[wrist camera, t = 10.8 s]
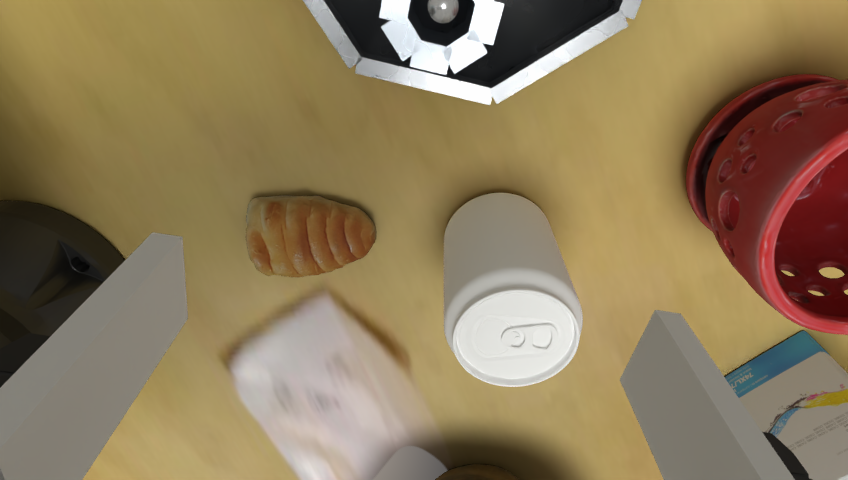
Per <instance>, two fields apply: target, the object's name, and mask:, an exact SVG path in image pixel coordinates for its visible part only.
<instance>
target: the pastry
mask: <svg viewBox="0 0 848 480" xmlns="http://www.w3.org/2000/svg"><path fill="white" fill-rule="evenodd" d="M246 222H247V228H246V241H247V248H248V252H249V257H250V260H251V261H252V262H253V263H254V264H255V267H256V269H257V270H258V271H260V272H261V273H263V274H265V275H267V276H270V275H281V276H288V277H302V276H307V275H319V274H321V273H325V272H331V271H333V270H335V269H338V268H341V267H343V266H344V265H345V264H348V263H350V262H354V261H355V260H358V259H361V258H363V257H364V256H365V255H366V254H367V253H368V252H369V250H370V249H371V247H372V245H373V243H374V242H375V240H376V228H375V225H374V224H373V222H372V221H371V219H370V218H369V217H368V216H367V215H366V214H365V213H364V212H363V211H362V210H360V209H359V208H357V207H353V206H348V205H346V204H340V203H338V202H336V201H332V200H327V199H325V198H323V197H321V196H318V195H315V196H289V195H285V196H270V197H257V198H254V199H252V200H251V201H250V203H249V205H248V210H247V215H246Z"/></svg>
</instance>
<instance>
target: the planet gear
mask: <svg viewBox="0 0 848 480" xmlns="http://www.w3.org/2000/svg"><path fill="white" fill-rule="evenodd" d="M413 3H414V0H382V3H381V9H380V16H379V18H383V19H387V20H386V21H385V23H384V24H383V25H382V26H381V28H382V30H383V31H384V33H385V34H386V36H387V38H388V39H389V41H390V42H391V44H392V45H393V47H394V49H395V50H396V52H397V53H398V55H399V57H400V58H401V60H402V61H404V60H406V59H407V58H409V57H410V56H412V57H411V62H410V67H414V68H418V69H422V70H426V71H430V72H435V73H439V74H443V75H446V74H447V70H448V66H449V65H450V67H451V69H452V70H453V72H454V74H455V73H457V72H458V71H460V70H462V69H463V68H465V67H466V66H468V65H469V64H471V63H473V62H474V61H476V60H477V59H479V58H480V57H482V56H484V55H485V54H487V50H486V48H485V46H484V43H485V44H489V45H493V44H494V40H495V36H496V33H497V29H498V25H499V22H500V18H501V15H502V11H503V7H504V3H503V2H502V1H500V0H470V2H469V6H468V10H467V14H466V18H465V21H463V22H462V23H460V24H459V25H457V26H456V27H454V28H453V29H451V30H450V31H448V32H447V33H444V32H440V31H436V30H432V29H428V28H424V26H423V24H422V23H421V21H420V19H419V17H418V16H417V14H416V12H415V11H414V9H413Z"/></svg>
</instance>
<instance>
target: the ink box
mask: <svg viewBox="0 0 848 480" xmlns="http://www.w3.org/2000/svg"><path fill="white" fill-rule="evenodd" d="M725 379H726V380H727V382H728V383H729V385H730V386H731V388H732V389H733V390H734V392H735V393H736V395H737V396H738V398H739V399H740V401H741V402H742V404H743V405H744V406H745V408H746V409H747V411H748V412H749V414H750V415H751V417H752V418H753V420H754V421H755V422H756V424H757V425H758V427H759V428H760V430H761V431H762V432H767V433H772V434H773V435H774V436H775V437H776V438H778V439H779V440H780V441H781V442H782V443H783V444H784V445H785V446H786V447H787V448H788V449H790V450H791V451H792V452H793V453H794V455H795V456H796V457H797V459H798V460H799V462H800V463H801V464H802V466H803V467H804V468H805V470H806V471H807V473H808V474H809V479H812V480H848V373H847V372H846V371H845V370H844V369H843V368H842V367H841V366H840V365H839V364H838V363H837V362H836V361H835V360H834V359H833V358H832V357H831V356H830V355H829V354H828V353H827V352H826V351H825V350H824V349H823V348H822V347H821V346H820V345H819V344H818V343H817V342H816V341H815V340H814V339H813V338H812V337H811V336H810V335H809V334H808V333H807V332H805V331H801V332H799V333H797V334H796V335H794V336H792V337H790V338H789V339H787V340H785V341H784V342H782V343H780V344H779V345H777V346H775V347H774V348H772V349H770V350H768V351H767V352H765V353H763V354H762V355H760V356H758V357H757V358H755V359H753V360H752V361H750V362H748V363H747V364H745V365H743V366H742V367H740V368H738V369H737V370H735V371H734V372H732V373H730V374H729V375H727V376H726V377H725Z"/></svg>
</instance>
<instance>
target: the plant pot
mask: <svg viewBox="0 0 848 480" xmlns="http://www.w3.org/2000/svg"><path fill="white" fill-rule="evenodd" d="M686 188H687V194H688V198H689V202H690V204H691V206H692V209H693V211H694V212H695V214H696V215H697V217H698V218H699V220H700V221H701V222H702V223H703V224H704V225H705V226H706V227H707V228H708V229H710V230H711V231H713V233H714V235H715V237H716V239H717V241H718V243H719V245H720V247H721V249H722V250H723V252H724V253H725V255H726V256H727V258H728V259H729V261H730V262H731V264H732V265H733V267H734V268H735V269H736V270H737V271H738V272H739V273H740V274H741V275H742V276H743V277H744V279H745V280H746V281H747V282H748V284H749V285H750V286H751V287H752V288H753V289H754V290H755V292H756V293H757V294H759V295H760V296H761V297H762V298H763V299H764V300H765V301H766V302H767V303H768V304H769V305H771V306H772V307H773V308H774V309H775V310H777V311H778V312H779V313H780V314H782V315H783V316H784V317H786V318H787V319H789V320H791V321H792V322H794V323H796V324H798V325H800V326H803V327H806V328H808V329H812V330H816V331H820V332H825V333H832V334H845V335H848V295H846V294H845V293H844V291H845V290H847V289H848V79H847V80H837V79H835V78H832V77H827V76H822V75H815V74H801V75H791V76H785V77H781V78H777V79H773V80H771V81H768V82H765V83H763V84H760V85H758V86H755V87H753V88H751V89H750V90H748V91H746V92H744V93H742V94H741V95H739V96H738V97H736V98H735V99H733V100H732V101H731V102H729V103H728V104H727V105H726V106H724V107H723V108H722V109H721V110H720V111H719V112H718V113H717V114H716V115H715V116H714V117H713V118H712V119H711V121H710V122H709V123H708V124H707V126H706V127H705V129H704V130H703V131H702V133H701V134H700V136H699V137H698V139H697V141H696V143H695V145H694V147H693V150H692V152H691V155H690V158H689V162H688V166H687V173H686ZM825 267H835V268H837V269H840V270H841V271H842V272H843V273H844V274H845V275H844V276H843V277H840V278H827V277H824V276H822V275H821V274H820V273H819V270H820V269H822V268H825ZM781 270H785V271H788V272H790V273H792V274H793V275H794V276H788V275H786V274H784V273H783V272H782V271H781ZM809 290H812V291H818V292H820V293H822V294H824V295H825V296H816V295H813V294H811V293H809V292H808V291H809ZM796 300H797V301H796Z"/></svg>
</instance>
